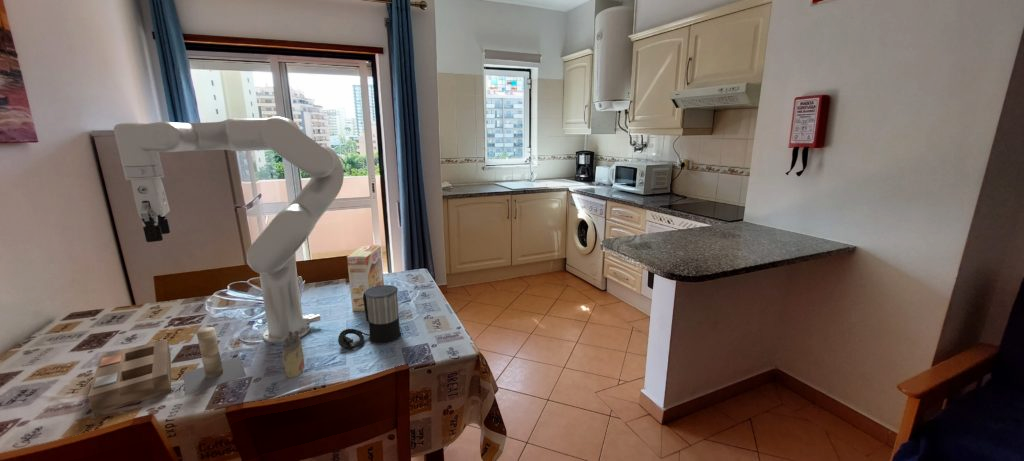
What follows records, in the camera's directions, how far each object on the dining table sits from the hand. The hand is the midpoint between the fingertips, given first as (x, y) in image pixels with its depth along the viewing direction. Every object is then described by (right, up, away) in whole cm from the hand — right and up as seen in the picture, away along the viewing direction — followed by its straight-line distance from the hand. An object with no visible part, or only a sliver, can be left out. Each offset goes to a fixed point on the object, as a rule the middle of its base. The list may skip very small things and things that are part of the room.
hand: (159, 237), depth 109 cm
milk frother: (+53, -31, +11) cm, 62 cm away
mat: (+19, -35, -6) cm, 40 cm away
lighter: (+39, -34, -4) cm, 52 cm away
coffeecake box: (+43, -24, +38) cm, 62 cm away
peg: (+19, -34, -6) cm, 40 cm away
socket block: (+2, -36, -8) cm, 37 cm away
